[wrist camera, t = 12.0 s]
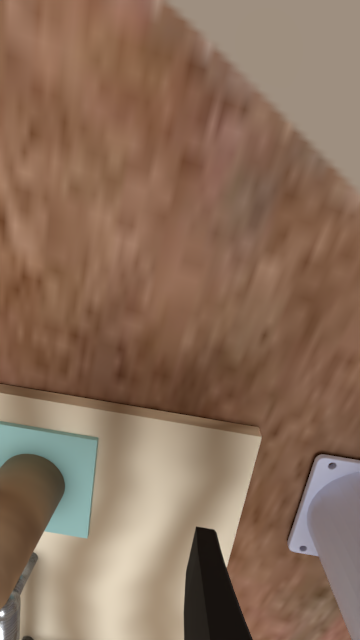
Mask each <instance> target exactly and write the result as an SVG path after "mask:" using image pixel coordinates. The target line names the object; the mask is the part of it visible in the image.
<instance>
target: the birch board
mask: <svg viewBox="0 0 360 640" xmlns="http://www.w3.org/2000/svg"><path fill="white" fill-rule="evenodd" d="M0 421H3V422H9V423H15V424H21V425H27V426H33V427H39V428H45V429H51V430H57V431H62V432H68V433H74V434H80V435H86V436H92V437H98V438H99V440H98V449H97V459H96V469H95V478H94V488H93V498H92V507H91V517H90V527H89V535H88V538H81V537H75V536H69V535H63V534H57V533H51V532H45V531H44V532H43V534H42V536H41V538H40V540H39V542H38V544H37V546H36V548H35V549H34V551H33V552H34V553H36V554H37V555H38V560H37V562H36V564H35V566H34V568H33V570H32V572H31V574H30V576H29V578H28V580H27V582H26V584H25V586H24V588H23V591H22V593H21V595H20V598H21V606H20V640H22V638H23V637H24V636H30V637H32V638H33V639H34V640H184V596H185V579H186V569H187V565H188V560H189V556H190V551H191V547H192V542H193V538H194V533H195V529H196V526H197V527H203V528H208V529H214V530H215V531H216V533H217V537H218V541H219V544H220V548H221V552H222V555H223V558H224V562H225V565H226V568H227V565H228V561H229V557H230V553H231V550H232V546H233V542H234V539H235V535H236V531H237V528H238V524H239V520H240V516H241V513H242V509H243V505H244V502H245V498H246V494H247V490H248V487H249V483H250V479H251V476H252V472H253V468H254V465H255V461H256V457H257V453H258V450H259V446H260V442H261V439H262V436H261V433H260V430H259V427H254V426H248V425H242V424H236V423H231V422H225V421H219V420H213V419H207V418H201V417H195V416H189V415H183V414H177V413H171V412H165V411H159V410H153V409H147V408H141V407H136V406H130V405H124V404H118V403H112V402H106V401H100V400H94V399H88V398H82V397H76V396H70V395H64V394H58V393H52V392H46V391H41V390H35V389H29V388H23V387H17V386H11V385H5V384H0Z"/></svg>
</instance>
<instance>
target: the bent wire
mask: <svg viewBox="0 0 360 640" xmlns="http://www.w3.org/2000/svg"><path fill="white" fill-rule="evenodd" d="M37 560H38V555H37V554H36V553H34V552H33V553H32V555H31V557H30V559H29V561H28V563H27V565H26V566H25V568H24V570H23V572H22V574H21V576H20V578H19V580H18V582H17V583H16V585H15V587H14V589H13V591H12V593H11V595H10V597H9V599H8V600H7V602H6V604H5V605H4V606H3V607H2V608H1V609H0V640H20V606H21V598H20V595H21V593H22V591H23V588H24V586H25V584H26V582H27V580H28V578H29V576H30V574H31V572H32V570H33V568H34V566H35V564H36V562H37ZM22 640H34V639H33V638H32V637H30V636H24V637H23V638H22Z"/></svg>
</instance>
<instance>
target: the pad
mask: <svg viewBox="0 0 360 640" xmlns="http://www.w3.org/2000/svg"><path fill="white" fill-rule="evenodd" d="M98 440H99V438H98V437H92V436H86V435H80V434H74V433H68V432H62V431H57V430H51V429H45V428H39V427H33V426H27V425H21V424H15V423H9V422H3V421H0V467H1V466H2V465H3V464H4V463H5V462H6V461H7V460H8V459H9V458H11V457H13V456H16V455H19V454H34V455H38V456H41V457H44V458H46V459H48V460H49V461H51V462H52V463H53V464H54V465H55V466H56V467H57V468H58V469H59V470H60V472H61V474H62V476H63V478H64V482H65V491H64V494H63V497H62V498H61V500H60V502H59V504H58V506H57V508H56V510H55V512H54V514H53V515H52V517H51V519H50V521H49V523H48V525H47V527H46V529H45V532H51V533H57V534H63V535H69V536H75V537H81V538H88V535H89V527H90V517H91V507H92V498H93V488H94V478H95V469H96V459H97V449H98Z"/></svg>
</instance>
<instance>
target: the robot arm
mask: <svg viewBox="0 0 360 640" xmlns="http://www.w3.org/2000/svg"><path fill="white" fill-rule="evenodd" d="M330 463H333V464H331V465H329V464H330ZM288 547H289V549H290V550H291V551H293V552H297V553H302V554H308V555H314V556H319V558H320V561H321V563H322V566H323V568H324V571H325V573H326V576H327V578H328V581H329V584H330V586H331V589H332V591H333V594H334V596H335V599H336V601H337V604H338V606H339V609H340V611H341V614H342V616H343V619H344V621H345V624H346V626H347V629H348V632H349V634H350V637H351V639H352V640H360V460H355V459H349V458H343V457H337V456H331V455H325V454H321V455H318V456H317V457H316V458H315V460H314V463H313V466H312V469H311V472H310V475H309V478H308V481H307V484H306V487H305V490H304V493H303V496H302V499H301V502H300V505H299V509H298V512H297V515H296V518H295V521H294V524H293V527H292V530H291V533H290V536H289V539H288ZM184 640H253V639H252V637H251V634H250V632H249V629H248V627H247V624H246V622H245V619H244V617H243V614H242V611H241V608H240V606H239V603H238V600H237V598H236V595H235V592H234V589H233V586H232V583H231V580H230V577H229V574H228V571H227V568H226V565H225V562H224V558H223V555H222V552H221V548H220V544H219V541H218V537H217V533H216V531H215V530H214V529H208V528H203V527H197V526H196V529H195V533H194V538H193V542H192V547H191V551H190V556H189V560H188V565H187V569H186V579H185V596H184Z"/></svg>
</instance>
